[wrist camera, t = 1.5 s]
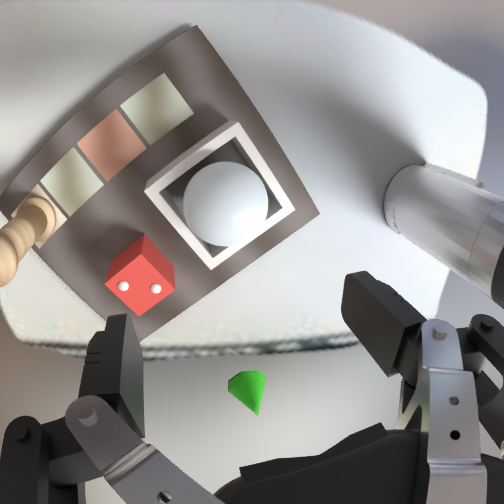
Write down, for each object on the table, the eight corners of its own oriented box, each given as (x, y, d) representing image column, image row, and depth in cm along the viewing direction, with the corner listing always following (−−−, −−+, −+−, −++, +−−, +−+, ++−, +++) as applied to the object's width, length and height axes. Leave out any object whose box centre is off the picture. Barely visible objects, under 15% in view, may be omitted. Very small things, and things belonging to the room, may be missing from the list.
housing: (229, 120, 26) (238, 121, 22) (279, 197, 30) (295, 209, 26) (147, 180, 26) (143, 191, 22) (205, 250, 30) (210, 270, 27)
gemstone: (237, 366, 40) (248, 399, 35) (274, 372, 43) (287, 403, 38) (219, 393, 42) (228, 425, 37) (255, 398, 44) (266, 428, 39)
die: (144, 233, 28) (140, 254, 24) (173, 265, 30) (175, 290, 26) (111, 260, 28) (104, 284, 24) (141, 290, 30) (138, 317, 26)
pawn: (37, 186, 23) (-23, 230, 13) (64, 219, 25) (18, 278, 15) (13, 215, 23) (-46, 268, 14) (39, 245, 25) (-8, 310, 16)
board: (195, 29, 22) (196, 24, 21) (313, 209, 33) (320, 214, 32) (1, 199, 24) (-6, 204, 22) (135, 337, 34) (134, 345, 33)
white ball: (229, 141, 25) (247, 149, 19) (269, 200, 28) (296, 224, 22) (166, 187, 25) (164, 210, 19) (210, 242, 28) (222, 277, 22)
